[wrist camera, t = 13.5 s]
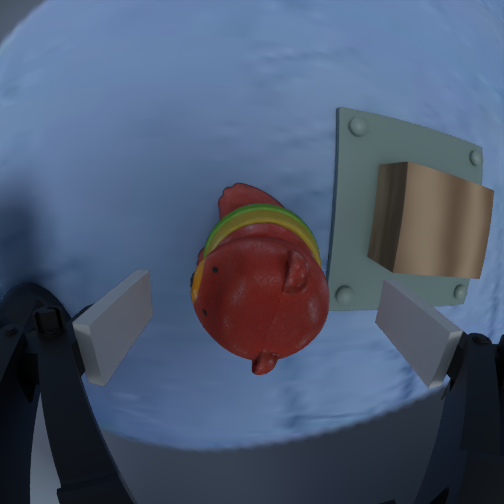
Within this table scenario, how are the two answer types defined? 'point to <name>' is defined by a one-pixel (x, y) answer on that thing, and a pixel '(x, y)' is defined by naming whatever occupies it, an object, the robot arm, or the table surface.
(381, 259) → the walnut brick
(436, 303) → the base plate
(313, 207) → the table surface
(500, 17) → the table surface
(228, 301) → the stacking bear
